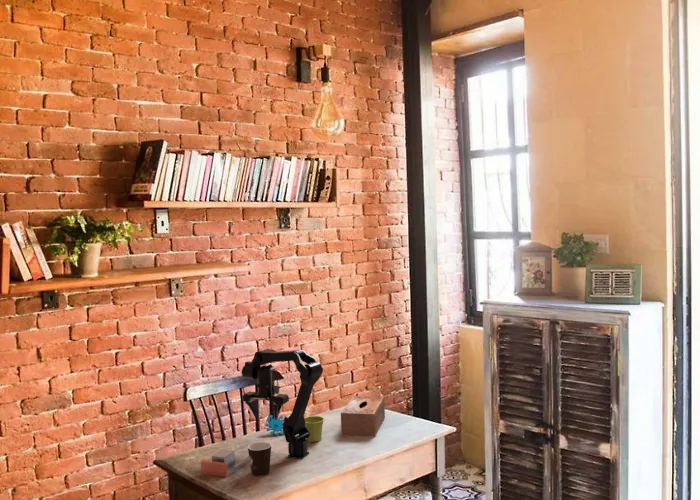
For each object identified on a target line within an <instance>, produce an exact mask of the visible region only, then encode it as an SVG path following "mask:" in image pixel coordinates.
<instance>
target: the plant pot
mask: <svg viewBox="0 0 700 500" xmlns="http://www.w3.org/2000/svg"><path fill="white" fill-rule="evenodd" d="M304 419H305V427H306V428H307V429H308V431H309V432H310V436H309V438H306V439H307V442H310V443H311V442H312V443H314V442H319V441H322V434H323V425H324V421H325V417H323V416H318V415H311V416H306V417H304Z"/></svg>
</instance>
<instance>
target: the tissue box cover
mask: <svg viewBox="0 0 700 500" xmlns="http://www.w3.org/2000/svg"><path fill="white" fill-rule="evenodd" d="M385 410H386V407H385V396H367V395H366V396H365V395H363V396H361V395H360V396H358V395H353V396H352V397H351V399H350V400H349V401H348V403H346V406H345V407H344V408H343V409H342V411H341V412H340V429H341V430H340V431H341V432H340V434H341V436H342V437H344V436H345V437H368V438H370V437H371V438H372V437H374V438H375V437H376V435H377V434H378V432H379V431H380V428H381V427H382V424H383V422H384V420H385V419H386V416H385V415H386V411H385Z"/></svg>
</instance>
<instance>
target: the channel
mask: <svg viewBox="0 0 700 500" xmlns="http://www.w3.org/2000/svg"><path fill="white" fill-rule="evenodd" d="M247 463H250V459H249V455H248V456H246V457H244V458H243V459H241V460H239V462H238V463H235V465H234V466H233V467H231V468H230V469H228V463H222V462H214V461H212V460H206V459H202V460H201V461H200V473H201V474H202V473H203V474H204V475H211V476H217V477H224V478H227V477H228V476H229V477H230V475H232V474H233V473H235V471H237V470H238V469H239V470H240V468H242V467H243V466H244V465H246V464H247Z"/></svg>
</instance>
